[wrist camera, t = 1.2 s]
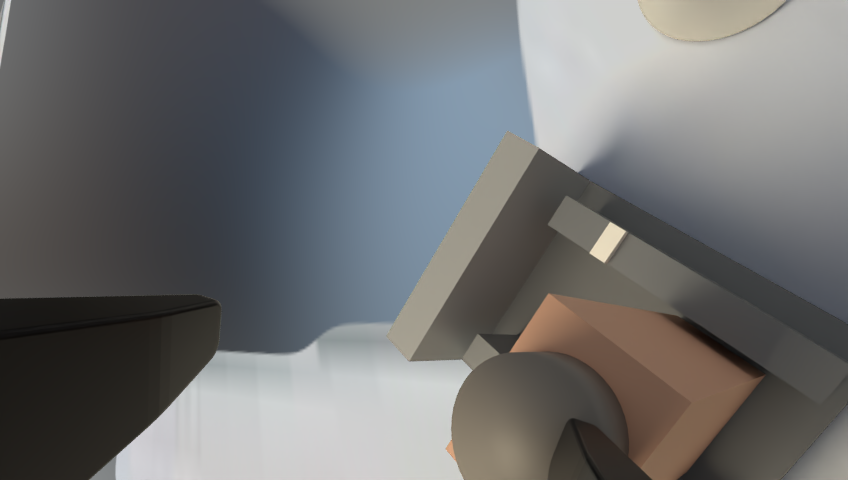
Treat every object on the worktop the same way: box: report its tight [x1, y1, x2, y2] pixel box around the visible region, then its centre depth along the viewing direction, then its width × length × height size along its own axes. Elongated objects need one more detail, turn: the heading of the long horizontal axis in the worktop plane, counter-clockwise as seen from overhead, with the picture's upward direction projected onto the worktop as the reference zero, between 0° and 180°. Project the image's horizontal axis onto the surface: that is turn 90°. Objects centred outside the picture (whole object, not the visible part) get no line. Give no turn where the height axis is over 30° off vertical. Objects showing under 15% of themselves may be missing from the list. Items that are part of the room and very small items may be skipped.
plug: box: [446, 293, 766, 480], centre depth 13 cm, size 3×4×11 cm
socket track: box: [387, 131, 848, 480], centre depth 18 cm, size 12×9×6 cm
